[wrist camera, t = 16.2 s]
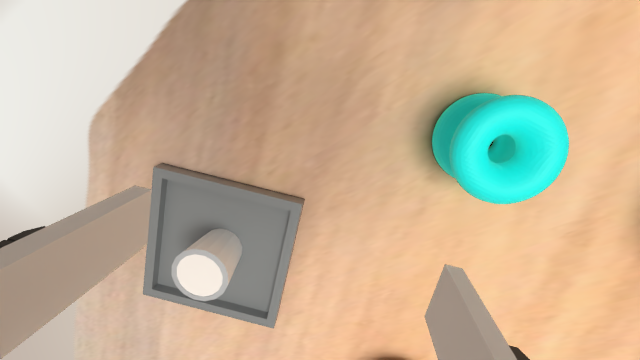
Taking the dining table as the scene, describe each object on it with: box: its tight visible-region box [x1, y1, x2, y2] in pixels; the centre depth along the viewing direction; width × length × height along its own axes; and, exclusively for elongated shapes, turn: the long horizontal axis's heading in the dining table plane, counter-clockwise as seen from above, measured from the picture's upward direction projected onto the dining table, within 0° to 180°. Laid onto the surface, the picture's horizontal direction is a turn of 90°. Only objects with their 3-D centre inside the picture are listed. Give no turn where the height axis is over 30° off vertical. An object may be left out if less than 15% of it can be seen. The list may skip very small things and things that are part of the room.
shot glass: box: [172, 228, 242, 301], centre depth 41 cm, size 7×7×7 cm
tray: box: [143, 163, 305, 328], centre depth 44 cm, size 19×19×2 cm
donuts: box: [432, 93, 569, 204], centre depth 33 cm, size 10×10×10 cm
